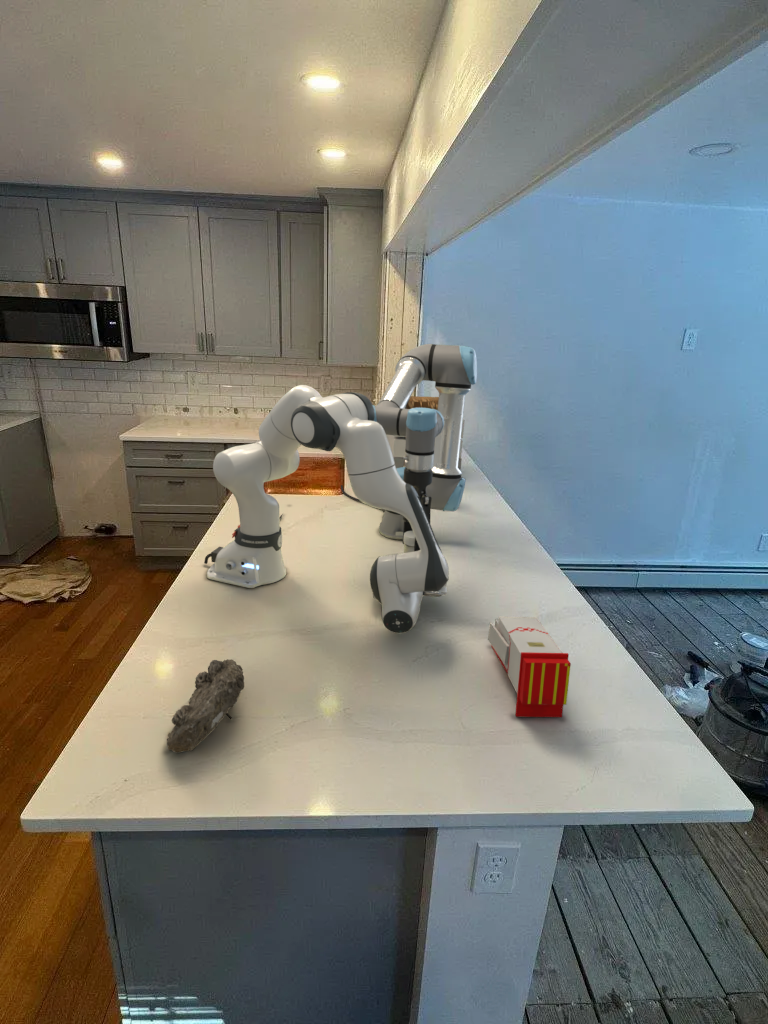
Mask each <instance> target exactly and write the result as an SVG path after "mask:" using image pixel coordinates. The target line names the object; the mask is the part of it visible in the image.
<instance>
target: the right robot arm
mask: <svg viewBox="0 0 768 1024" xmlns="http://www.w3.org/2000/svg"><path fill="white" fill-rule="evenodd" d="M394 371H395V372H394V374H393V377H392V378H391V380H390V382H389V384H388V385H387V387H386V389H385V390H384V392H383V394H382V395H381V397H380V399H379V401H378V403H377V405H375V404H372V405H373V408H374V413H375V417H374V421H375V422H377V423H379V424H380V425H381V426H382V427H383V429H384V431H385V433H386V435H396V436H404V437H406V447H405V457H403V459H404V460H405V464H404V467H401V468H396V469H397V472H398V474H399V476H400V477H401V478H402V480H403V481H404V482H405V483H406V484H409V485H412V486H413V487H414V489H415V490H416V492H417V494H418V496H419V498H420V500H421V502H422V505H423V507H424V510H425V512H426V514H427V517H428V520H429V522H430V523H431V512H432V511H431V510H436V511H442V512H456V511H457V510H458V509H459V508H460V505H461V502H462V499H463V496H464V493H465V492H464V491H465V487H466V478H464V477H462V475H463V474H462V470H461V471H460V470H459V468H458V461H459V451H460V441H461V440H462V438H461V432H462V422H463V419H464V412H465V411H464V410H465V403H466V402H465V401H466V395H467V394H468V393H469V392H470V391H471V390H472V386H474V385H476V384H477V381H478V380H477V378H478V360H477V353H476V350H475V348H474V347H471V346H466V345H465V346H464V345H461V344H459V345H455V344H454V345H453V344H436V343H435V344H434V343H426V344H424V343H423V344H421V345H418V346H415V347H413V348H412V349H410V350H409V351H407V352H405V353H404V354H403V355H402V356H401V357H400V358H399V360H398V361H397V363H396V365H395V369H394ZM424 381H425V382H435V383H434V388H435V389H436V391H437V392H438V397H439V400H438V410H435V409H430V408H411V409H405V407H406V405H407V403H408V401H409V399H410V397H411V396H413V393H414V391H415V389H416V387H417V385H419V384H421V383H422V382H424ZM340 490H341V493H342V494H343V495H345V496H346V497H348V498H349V499H352V500H354V501H356V502H359V503H362V504H364V505H366V504H365V503H363V502H361V501H360V500H359V499H358V498H357V497H354V496H352V495H350V494H348V493H347V492H346V491H345V489H344V486H343V484H341V485H340ZM377 509H378V510H380V511H383V512H384V513H383V515H382V519H381V522H379V526H378V533H379V534H380V535H381V536H382V537H385V538H387V539H389V540H395V541H402V544H403V545H404V542H403V540H404V533H405V532H407V531H413V530H412V527H411V525H410V523H409V521H408V520H407V519H406V518H405V517H404V516H403V515H401V514H399V513H396V512H393V511H389V510H384V509H379V508H377ZM419 550H420V547H419V545H418V542H417V540H416V537H415V544H414V551H419Z"/></svg>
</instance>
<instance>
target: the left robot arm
mask: <svg viewBox="0 0 768 1024" xmlns="http://www.w3.org/2000/svg"><path fill="white" fill-rule="evenodd" d="M373 405H374V404H373V403H372V401H371V400H370V399H369V397H367V396H366V395H365V394H363V393H359V392H354V391H353V392H352V391H347V392H342V393H336V394H332V395H331V394H330V395H327V396H324V397H323V396H322V395H321V394H320V392H319V391H318V390H316V389H315V388H314V387H312V386H310V385H306V384H299V385H295V386H293V387H292V388H290V389H289V390H288V391H287V392H286V393H285V394H284V395H283V396H281V397H280V398H279V400H278V401H276V403H275V404H274V406H273V407H272V408H271V410H270V411H269V412H268V414H267V415H266V417H265V418H264V419H263V420H262V421H261V423H260V424H259V427H258V438H259V441H258V440H257V441H256V442H253V443H247V444H241V445H236V446H232V447H231V446H230V447H229V448H227V449H224V450H222V451H220V452H217V454H216V456H214V459H213V464H212V471H213V475H214V477H215V479H216V481H217V482H218V483H219V484H220V485H221V486H222V487H224V488H226V489H227V490H229V492H231V494H232V495H233V496H234V498H235V501H236V504H237V508H238V515H239V517H238V518H239V525H237V528H236V529H234V532H233V533H232V534H231V538H232V539H233V538H234V539H233V540H232V541H230V542H229V543H227V544H226V545H225V546H224V547H223V546H218V547H217V548H216V549H215V548H214V549H213V550H212V551H211V552H210V553H208V554H206V556H205V558H204V560H203V561H204V562H203V563H204V564H205V565H208V562H209V558H211V563H212V565H211V566H210V567H209V568H208V570H207V572H206V578H207V579H208V580H212V581H217V582H221V583H225V584H231V585H233V586H234V585H235V586H238V587H242V588H247V589H254V588H257V587H259V586H262V585H270V584H273V583H276V582H278V581H281V580H283V578H285V577H286V575H287V569H286V566H285V562H284V558H283V551H282V546H283V534H282V533H283V532H282V526H281V519H280V516H281V515H280V504H279V502H278V500H277V499H276V497H274V496H272V495H270V494H269V493H267V492H266V491H265V487H264V486H265V485H264V484H265V483H268V482H272V481H276V480H281V479H283V478H285V477H287V476H289V475H291V474H293V473H295V472H296V471H297V470H298V469H299V466H300V461H301V458H300V452H299V448H300V447H301V446H303V447H305V448H308V449H315V450H321V451H325V452H332V451H333V450H334V449H335V448H336V449H338V450H339V451H340V452H341V453H342V455H343V457H344V461H345V465H346V470H347V475H348V480H349V483H350V487H351V490H352V492H353V495H354V496H355V498H357V499H359V500H360V501H361V502H363V503H362V504H364V503H365V504H364V505H366V506H368V507H372V508H374V509H378V508H379V509H378V510H381V509H384V510H389V511H393V512H396V513H399V514H401V515H403V516H404V517H405V518H406V519H407V520H408V521H409V523H410V525H411V527H412V530H413V532H414V535H415V537H416V540H417V542H418V545H419V547H420V550H419V551H414V552H408V553H404V552H401V553H392V554H386V555H379V556H378V557H377V558H376V559H375V560H374V561H373V563H372V565H371V568H370V573H369V584H370V589H371V592H372V598H373V599H374V600H376V601H377V602H378V603H379V604H381V621H382V624H383V626H384V627H385V629H387V630H388V632H391V633H394V634H404V633H407V632H409V631H410V630H412V629H413V628H414V627H415V625H416V623H417V621H418V619H419V615H420V611H421V604H422V600H423V596H424V597H432V598H433V597H434V598H440V597H442V596H446V595H447V594H448V588H447V584H448V582H449V580H450V568H449V565H448V562H447V559H446V557H445V556H444V554H443V553H444V552H442V549H441V547H440V545H439V543H438V540H437V537H436V535H435V533H434V530H433V528H432V525H431V521H430V522H429V520H428V517H427V514H426V512H425V510H424V507H423V505H422V502H421V500H420V498H419V496H418V494H417V492H416V490H415V489H414V487H413V486H412V485H409V484H406V483H405V482H404V481H403V480H402V478H401V477H400V476H399V474H398V472H397V469H396V466H395V461H394V457H393V453H392V450H391V447H390V444H389V441H388V438H387V436H386V433H385V431H384V429H383V427H382V426H381V425H380V424H379V423H377V422H375V421H374V417H375V413H374V408H373ZM361 502H360V503H361Z"/></svg>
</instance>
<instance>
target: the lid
mask: <svg viewBox="0 0 768 1024" xmlns="http://www.w3.org/2000/svg"><path fill="white" fill-rule="evenodd" d="M403 542H404V543H405V544H406V545H409V546H414V544H415V535H414V532H413V531H407V532H405V533H404V540H402V543H403Z"/></svg>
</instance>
